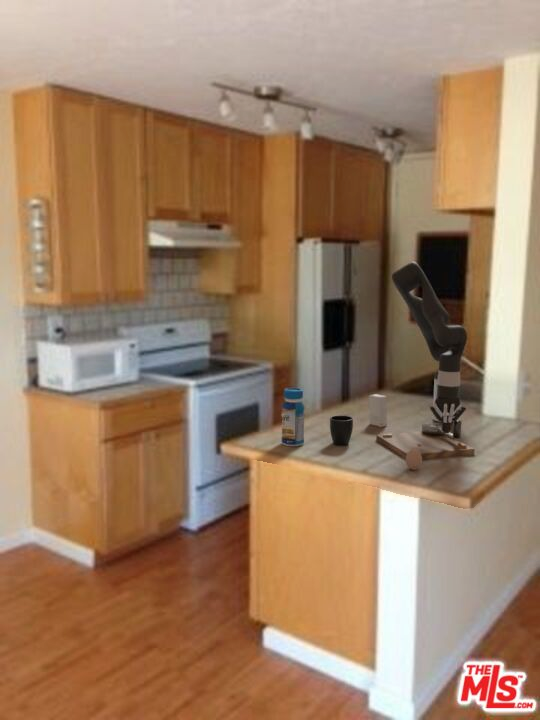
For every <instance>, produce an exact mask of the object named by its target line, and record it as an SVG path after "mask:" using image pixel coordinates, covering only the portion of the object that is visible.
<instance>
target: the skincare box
mask: <svg viewBox="0 0 540 720" xmlns="http://www.w3.org/2000/svg"><path fill="white" fill-rule="evenodd" d="M368 404H369V411H368V412H369V415H368V417H369V421H368V423H369V425H372V426H376V427H379V428H383V427H386V426H387V425H388V396H387V395H382V394H377V393H375V394H369V402H368Z"/></svg>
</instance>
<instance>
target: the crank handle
mask: <svg viewBox="0 0 540 720" xmlns="http://www.w3.org/2000/svg"><path fill="white" fill-rule="evenodd" d="M421 431H422V433H424V434H428V435H445V436H447V437H449V438H451V439H453V440H458V441H459V440H460V439H461V435H462V433H461V432H462V420H460V419H458V420H456V421H454V422H453V428H452V432H451V431H449V433H444V432H443V431H442V422H425V423H421Z"/></svg>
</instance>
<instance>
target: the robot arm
mask: <svg viewBox="0 0 540 720" xmlns="http://www.w3.org/2000/svg"><path fill="white" fill-rule="evenodd" d="M391 279H392V280H391V281H392V282H393V285H394V286H395V288H396V289H397V291H398V293H399V295H401V297H402V299H403V300H404V302H405V303H406V305H407V307H408V310H409V311H410V313H411V315H412V317H413V320H414V322H415V323H416V324H417V327H418V328H419V330H420V332H421V334H422V336H423V339H424V340H425V342H426V345H427V347H428V350H429V352H430V355H431V356H432V359H433V360H434V361H437V362H438V370H436V371H435V372H434V380H433V381H434V385H433V404H432V405H429V406H428V408H429V410H430V411H431V413H432V421H435V422H437V423H441V424H442V431H443V432H444V433H449V432H451V430H452V423H454V421H456V420H459V418H460V417H461V416H462V415H463V413H465V411H467V408H466V406H464V405H462V404H461V401H460V390H461V359H462V356H463V354H464V351H465V347H466V344H467V341H468V333H467V331H466V329H465V327H464V326H462V325H449V324H450V322H451V317H450V314H449V313H448V311H447V310H446V309H445V307H444V306H443V304H442V303H441V302H440V300H439V298H438V296H437V295H436V293H435V290H434V289H433V287H432V284H431V283H430V280H429V279H428V278H427V276H426V274H425V272H424V270H423V269H422V267H421V266H420V265H419V264H418V263H417V261H411V262H408V263H407V264H405V265H403V266H402V267H401V268H399V269H397V270H395V271H394V272H393V273H392V274H391ZM420 286H421V289H422V297H418V296H416V295H414V294H413V293H412V291H414V290H415V289H416V288H418V287H420Z"/></svg>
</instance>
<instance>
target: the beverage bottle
mask: <svg viewBox="0 0 540 720" xmlns="http://www.w3.org/2000/svg"><path fill="white" fill-rule="evenodd" d="M303 392H304V390H303V388H300V387H287V388H284V390H283V398H284V402H283V403H282V405H281V410H282V411H281V415H280V416H281V444H282V445H284V446H286V447H300V446H303V445H304V443H305V418H306V413H305V403H304V402H303V401H302V400H303V398H304V397H303V396H304V393H303Z"/></svg>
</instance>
